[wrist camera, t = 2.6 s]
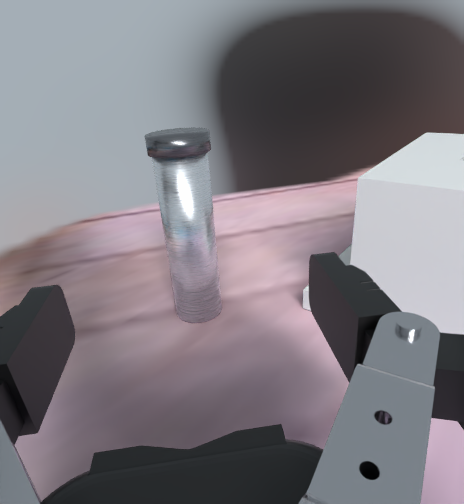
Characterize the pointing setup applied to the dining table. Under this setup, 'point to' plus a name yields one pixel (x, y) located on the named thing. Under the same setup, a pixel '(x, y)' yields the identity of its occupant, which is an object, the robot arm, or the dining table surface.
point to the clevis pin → (187, 219)
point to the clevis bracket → (414, 229)
